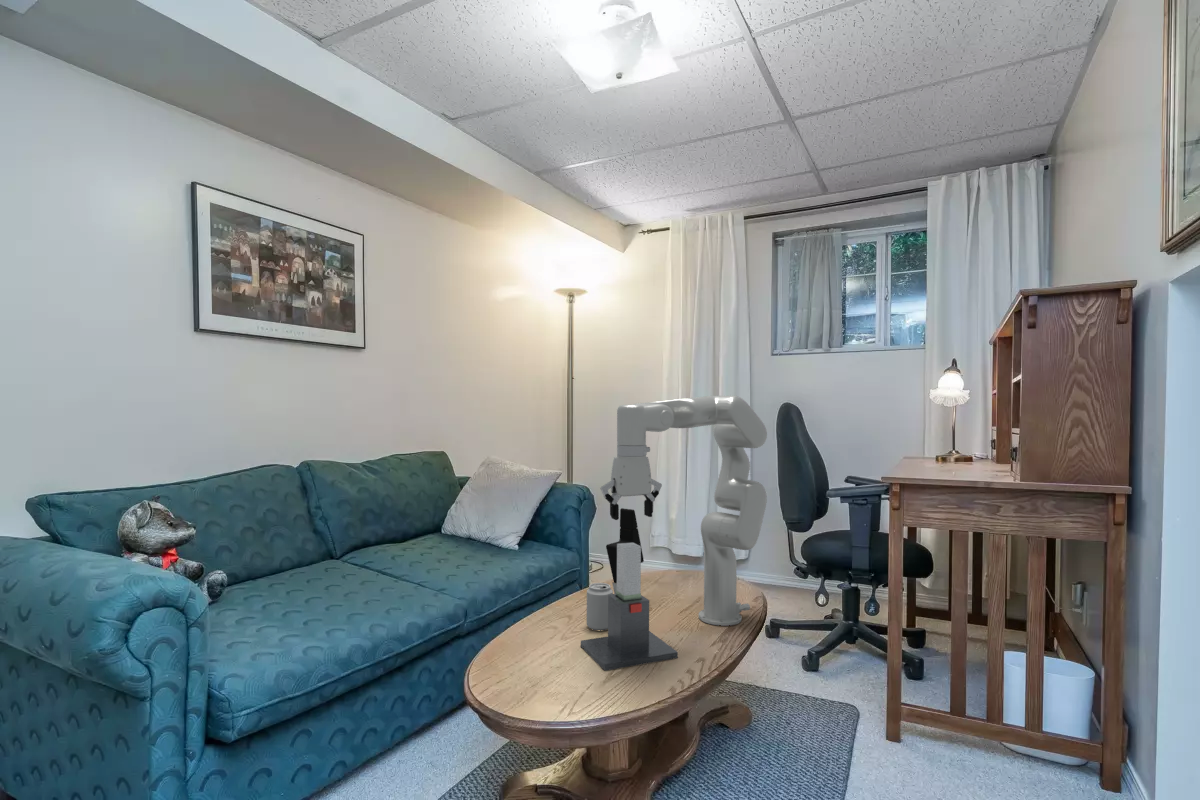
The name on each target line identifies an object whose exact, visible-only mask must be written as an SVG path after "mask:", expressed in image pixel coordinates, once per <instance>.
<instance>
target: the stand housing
mask: <svg viewBox="0 0 1200 800" xmlns="http://www.w3.org/2000/svg"><path fill="white" fill-rule="evenodd" d="M580 647H581V648H582V649H583V648H584V649H583V651H585V653H586V654H588V656H589V657H590V658H591V659H593V661H594V662H595V663H597V665H598V666H599V668H601V669H602V670H603V671H611V670H612V671H613V670H617V669H618V670H619V669H624V668H628V667H634V666H641V665H646V664H651V663H657V662H663V660H664V661H668V660H674V659H673V658H675V659H678V658H679V654H678V653H679V652H678V651H677V650H676V649H675V648H673V647H672V646H670V645H669V644H668V643H666V642H665V641H663V640H662V638H659V637H658V636H657V635H655V634H654V633H653V632H652V631H650V600H649V599H648V598H647V597H646V596H643V595H642V594H641V600H634V601H626V602H623V601H621V600H620V599H619V598H617V595H616V594H615V593H613V594H610V595H608V630H607V636H603V637H601V636H600V637H595V638H591V639H590V638H589V639H583V640H582V639H581V640H580Z"/></svg>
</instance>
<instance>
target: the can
mask: <svg viewBox="0 0 1200 800" xmlns="http://www.w3.org/2000/svg"><path fill="white" fill-rule="evenodd" d="M611 587H612V585H610V584H608V583H605V582H594V583H591V584H589V586H588V589H587V590H586V626H587V627H588V628H589V629H590V628H591V629H593V630H592V631H595V630H600V631H599V632H602V631H601V630H605V631H608V630H607V629H608V595H610V594H614V589H613V588H611ZM591 629H590V630H591Z"/></svg>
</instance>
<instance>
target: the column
mask: <svg viewBox="0 0 1200 800" xmlns="http://www.w3.org/2000/svg"><path fill="white" fill-rule="evenodd" d="M641 548H642V545H641V546H639V545H637V544H635V543H633V542H632V543H621V544H617V590H616V595H617V598H619V599H620V600H621V601H623V602H626V601H634V600H641V595H642V592H641V589H642V588H641V583H642V582H641V581H642V580H641V573H642V567H641V566H642V563H641Z"/></svg>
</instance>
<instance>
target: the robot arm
mask: <svg viewBox="0 0 1200 800" xmlns="http://www.w3.org/2000/svg"><path fill="white" fill-rule="evenodd" d="M713 425H714V427H713V437H714V440H715V442H716V443H717V445H718V446H717V447H718V448H719V451H720V454H721V459H722V460H721V461H722V462H721V467H720V471H719V474H718V478H717V482H716V487H715V491H714V496H713V497H714V502H715V504H716V505H717V506H718V507H720V508H721V509H726V510H730V511H735V512H739V514H733V513H728V512H722V511H711V512H708V513H707V514H706V515H704V516H703V518H702V520H701V522H700V534H701V540H702V545H703V570H704V571H703V609H702V610H700V611H699V612H698V619H699V620H700V621H702V622H704V623H706V624H709V625H712V626H713V625H714V626H719V625H721V626H723V627H725V626H729V625H730V626H735V625H738V624H739V623H741V622H742V617H743V616H742V615H741V614H740V613H741V612H742V611H743V612H744V611H749V610H750V609H751V606H750V604H749V603H742V602H737V556H736V553H735V551H734V549H735V550H741V551H749V550H752V549H753V548H754V547H755V546H756V544H757V542H758V539H759V537H760V533H761V528H762V523H763V519H764V515H765V511H766V507H767V502H768V497H767V490H766V489H765V487H764V485H763V484H762V483H760V482H759V481H755V480H752V479H751V480H750V479H749V475H750V470H751V462H750V459H749V455H748V454H747V452H746V450H745V449H758V448H760V447H763V446H764V444H765V443H766V440H767V438H768V437H767V436H768V432H767V428H766V426H765V423H764V422H763V420H762V419H761V418H760V417H759V415H758V414H757V413H756V412H755V410H754V409H753V408H752V406H751V405H750V404H749V403H748V402H747V401H746V400H745V399H743V398H742V397H740V396H738V395H707V396H698V397H688V398H687V397H686V398H677V399H676V398H675V399H671V400H669V399H668V400H662V401H659V400H658V401H651V402H650V401H649V402H648V401H647V402H640V403H639V402H638V403H637V402H636V403H633V404H621V405H619V406H618V407H617V409H616V456H615V457H613V461H612V467H611V473H610V474H611V475H610V481H608V482H606V483H605V484H604V485H602V486H601V487H599V488H600V492H601V494H602V495H603V499H605V500H607V502H608V503H609V514H610V518H611V519H613V520H615V521H618V520H620V516H619V515H620V511H619V510H620V509H619V507H620V506H619V504H618V502H619V500H620V499H621V498H622V497H635V496H636V497H637V496H643V497H644V498H645V499H644V501H643V504H644V505H643V506H644V507H643V511H644V512H643V513H644V514H643V515H644V516H645V517H648V518H653V512H654V502H655V499H656V498H657V497H658V496H659V495H660V491H661V488H662V486H663V485H662V483H660V482H659V481H657V480H655V479H653V478H652V472H651V466H650V461H649V460H650V459H649V457H648V456H647V454H648V453H649V452H651V447H650V446H647V432H652V433H653V432H655V433H660V432H661V433H662V432H665V431H667V430H670V429H693V428H699V427H704V426H713ZM652 486H653V489H652ZM609 490H610V492H611V494H610V493H609Z"/></svg>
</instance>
